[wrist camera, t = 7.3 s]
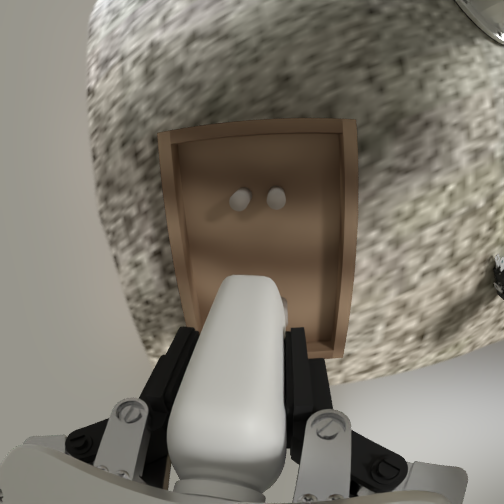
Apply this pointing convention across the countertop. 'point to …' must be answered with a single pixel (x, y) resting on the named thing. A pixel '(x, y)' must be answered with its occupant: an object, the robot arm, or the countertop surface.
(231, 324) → the eye dropper bottle
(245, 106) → the countertop surface
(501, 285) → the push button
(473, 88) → the countertop surface
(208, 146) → the pin tray
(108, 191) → the countertop surface
